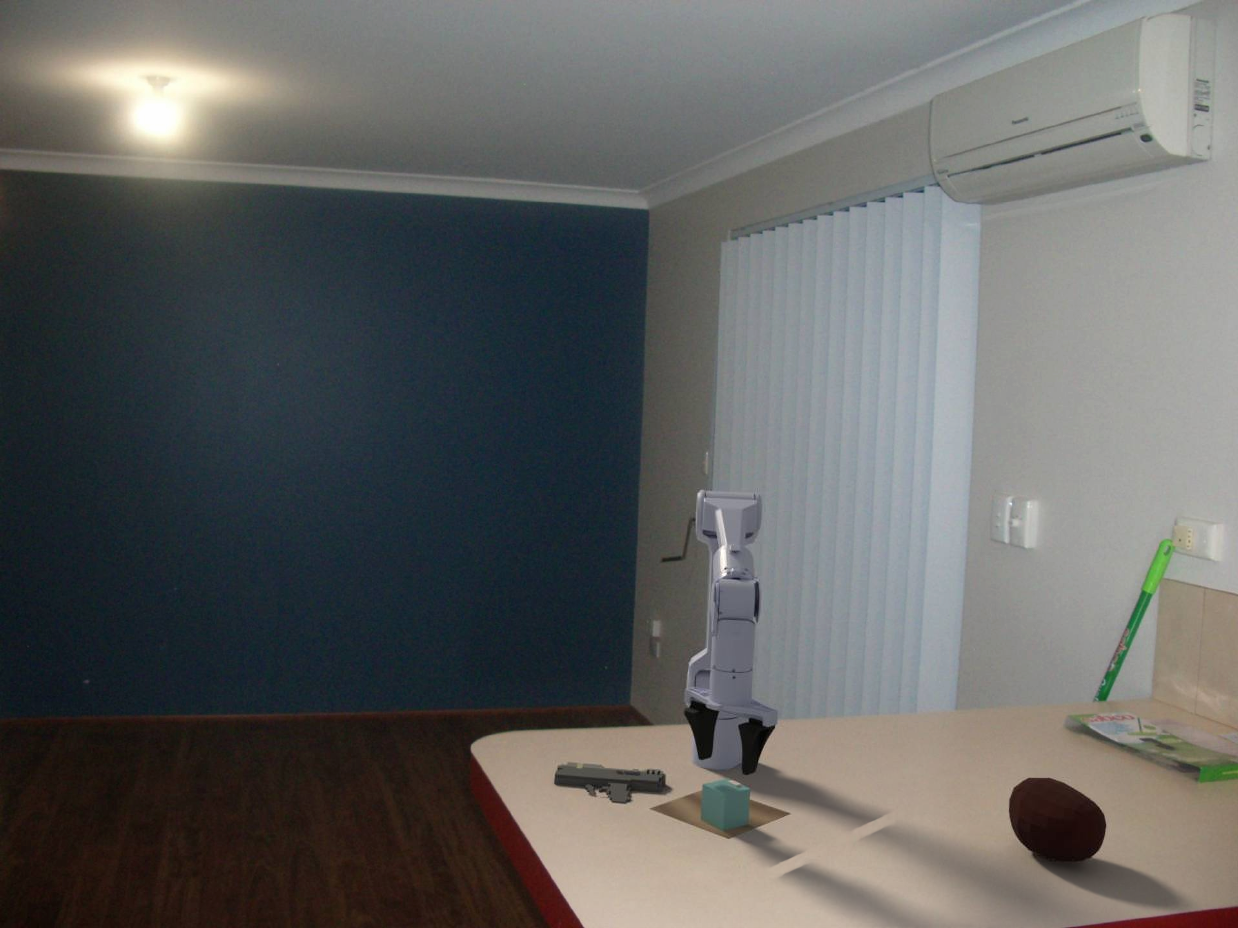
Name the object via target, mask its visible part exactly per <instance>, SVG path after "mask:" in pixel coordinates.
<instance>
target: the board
mask: <svg viewBox="0 0 1238 928" xmlns="http://www.w3.org/2000/svg"><path fill="white" fill-rule="evenodd" d="M701 805H702V789H701V790H699V791H695V792H693V793H691V794H690V793H689V794H687V795H684V796H682V797H678V798H676V799H672V800H669V801H667V802H664V803H661V804H659V805H658V804H657V805H655V806H652V807H650V808H649V810H651V811H654V812H657V813H660V814H662V815H664V816H667V817H671V818H673V819H674V820H678V821H681V822H683V823H686V824H688V825H690V826H694V827H696V828H698V829H701V830H704V831H706V832H709V833H712V834H715V835H717V836H719V837H723V838H725V839H728V840H730V839H731V838H733V837H737V836H739V835H741V834H743V833H747V832H749V831H751V830H754V829H757V828H758V827H762V826H764V825H767V824H769V823H771V822H773V821H776V820H779V819H781V818H784V817H785V816H789V815H791V814H792V813H791V812H788V811H785V810H783V809H780V808H776V807H773V806H770V805H768V804H765V803H762V802H759V801H757V800H753V799H751V798H750V805H749V823H748V825H745V826H741V827H737V828H733V829H729V830H725V831H722V830H720V829H718V828H716V827H714V826H712V825H710V824H708V823H706V822H704V821H702V820H701Z"/></svg>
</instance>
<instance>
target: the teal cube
mask: <svg viewBox="0 0 1238 928" xmlns="http://www.w3.org/2000/svg"><path fill="white" fill-rule="evenodd" d="M701 788H702V789H701V790H702V805H701V820H702V821H704V822H706V823H708V824H710V825H712V826H714V827H716V828H718V829H720V830H722V831H725V830H729V829H733V828H737V827H741V826H745V825H748V823H749V805H750V799H751V788H750V787H747V786H745V785H744V784H741V783H740V782H738V781H735V780H733V779H730V778H724V779H720V780H715V781H710V782H707V783H702V787H701Z"/></svg>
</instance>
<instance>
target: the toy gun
mask: <svg viewBox="0 0 1238 928" xmlns="http://www.w3.org/2000/svg"><path fill="white" fill-rule="evenodd" d="M556 769H557V770H555V773H554V779H553V781H554V783H553V784H554V785H564V786H573V787H574V786H575V787H583V788H585V789H584V790H586V792H587V793H588V796H591V797H595V798H598V795H597V794H596V790H595V788H597V789H598V792H599V793H601V792H605V795H607V797H605V796H601V798H603V799H609V801H611V803H617V804H626V803H627V802H630V801H631V802H633V798H632V793H631V792H633V791H642V792H653V793H662V789H663V787H666V781H667V780H666V778H667V773H664V770H661V769H657V768H647V769H644V770H639V768H632V769H623V768H613V767H605V766H604V765H602V764H595V763H585V762H584V763H582V762H570V761H568V762H567V763H566V764H563V763H561V764H560V765H557V768H556ZM631 798H632V799H631Z"/></svg>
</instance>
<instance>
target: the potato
mask: <svg viewBox="0 0 1238 928" xmlns="http://www.w3.org/2000/svg"><path fill="white" fill-rule="evenodd" d="M1008 817H1009V821H1010V825H1011V828H1012V830H1013V833H1014V835H1015V837H1016V838H1017V839H1018V841H1019V842H1020V843H1021V844H1022V845H1023V846H1024V847H1025V848H1026V849H1027V850H1028V851H1030V852H1032V853H1034V854H1036V855H1038V856H1039V857H1043V858H1045V859H1047V860H1051V861H1052V860H1053V861H1059V862H1066V863H1067V862H1073V863H1074V862H1075V863H1076V862H1077V863H1078V862H1082V861H1083V862H1084V861H1086V860H1089V859H1091V858H1093V857H1094V856H1095V855H1096V854H1097V853H1098V852H1099V851H1100V849H1101V848H1102V846H1103V843H1104V839H1105V837H1106V832H1107V831H1106V830H1107V821H1106V816H1105V813H1104V812H1103V810H1102V809H1101V808H1100V806H1099V805H1098V804H1097V803H1096V802H1095V801H1094V800H1092V799H1091V798H1090V797H1088V796H1087V795H1085V794H1084V793H1082V792H1081V791H1079V790H1077V789H1076V788H1074V787H1072V786H1071V785H1069V784H1068V783H1065V782H1064V781H1061V780H1057V779H1055V778H1051V777H1027V778H1025V779H1024V780H1022V781H1021V782H1019V783H1018V784H1016V786H1014V787H1013V790H1012V791H1011V795H1009V800H1008Z"/></svg>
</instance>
